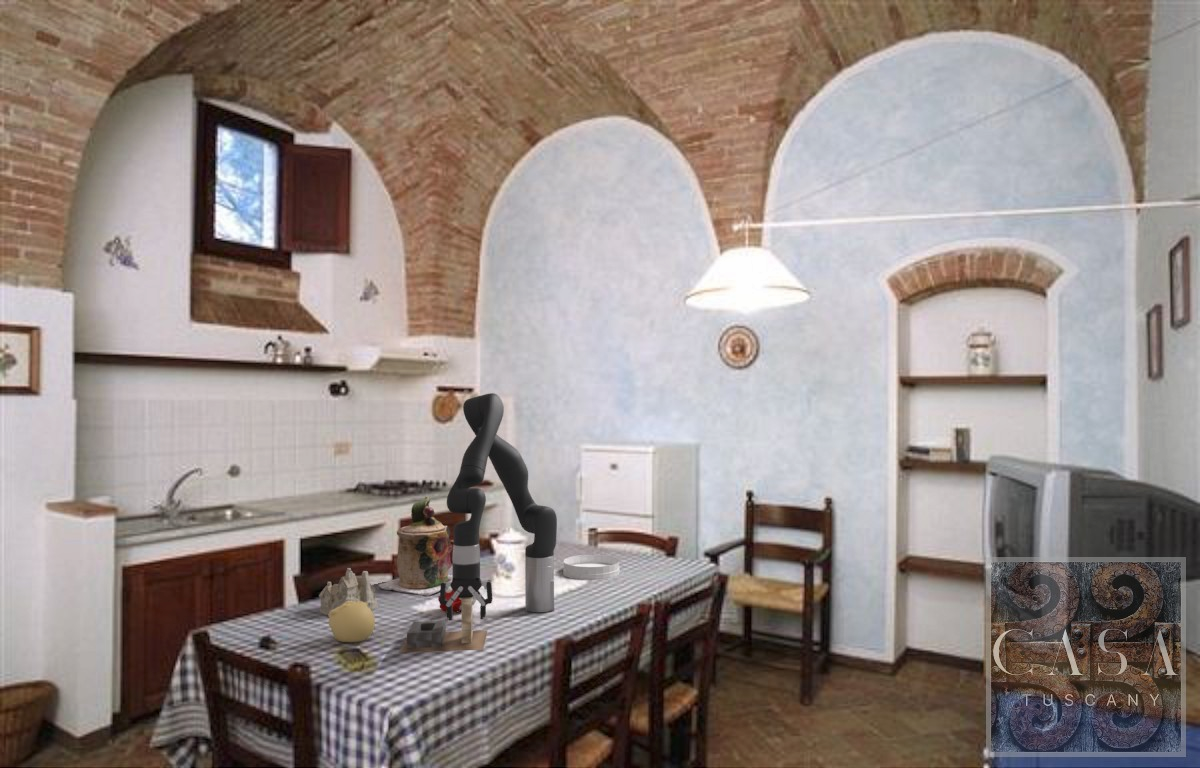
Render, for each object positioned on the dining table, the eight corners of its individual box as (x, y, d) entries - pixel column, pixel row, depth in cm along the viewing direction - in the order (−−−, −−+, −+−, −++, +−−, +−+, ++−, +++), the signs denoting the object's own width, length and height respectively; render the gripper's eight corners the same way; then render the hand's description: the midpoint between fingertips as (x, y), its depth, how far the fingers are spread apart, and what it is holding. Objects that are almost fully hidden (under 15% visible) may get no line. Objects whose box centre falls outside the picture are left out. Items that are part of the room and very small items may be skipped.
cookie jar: (375, 590, 264) (375, 500, 265) (418, 574, 287) (418, 492, 287) (432, 597, 254) (431, 504, 255) (472, 580, 277) (471, 495, 277)
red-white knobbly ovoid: (480, 603, 243) (463, 623, 229) (448, 601, 246) (429, 620, 231) (479, 577, 242) (462, 595, 228) (447, 575, 245) (428, 592, 230)
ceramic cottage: (384, 607, 241) (381, 561, 241) (338, 621, 228) (334, 572, 229) (359, 602, 251) (356, 558, 252) (313, 615, 239) (310, 568, 239)
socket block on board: (487, 635, 212) (487, 616, 212) (483, 655, 196) (483, 634, 196) (409, 638, 211) (409, 618, 211) (399, 658, 195) (399, 637, 195)
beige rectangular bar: (472, 637, 207) (472, 594, 207) (470, 643, 202) (470, 598, 202) (463, 637, 206) (463, 594, 207) (461, 643, 201) (461, 599, 202)
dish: (554, 570, 293) (554, 557, 293) (604, 564, 302) (604, 552, 302) (576, 583, 273) (576, 569, 273) (629, 576, 282) (629, 563, 282)
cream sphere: (358, 630, 218) (358, 593, 218) (382, 638, 210) (382, 600, 211) (322, 640, 209) (322, 602, 209) (346, 649, 201) (346, 609, 202)
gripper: (493, 557, 209) (493, 614, 208) (442, 557, 208) (441, 615, 207) (491, 562, 201) (491, 622, 201) (438, 563, 200) (438, 624, 200)
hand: (466, 619), depth 204 cm, fingers open, 8 cm apart
